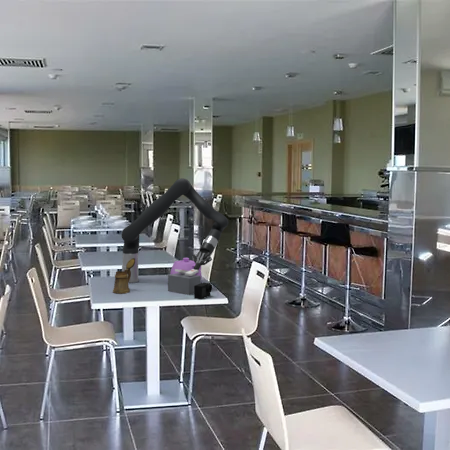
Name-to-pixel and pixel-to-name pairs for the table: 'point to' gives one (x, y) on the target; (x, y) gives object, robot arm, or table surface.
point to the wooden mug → (123, 279)
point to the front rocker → (191, 272)
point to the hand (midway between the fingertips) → (195, 269)
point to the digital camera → (202, 290)
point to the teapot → (184, 266)
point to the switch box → (183, 283)
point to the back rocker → (181, 271)
